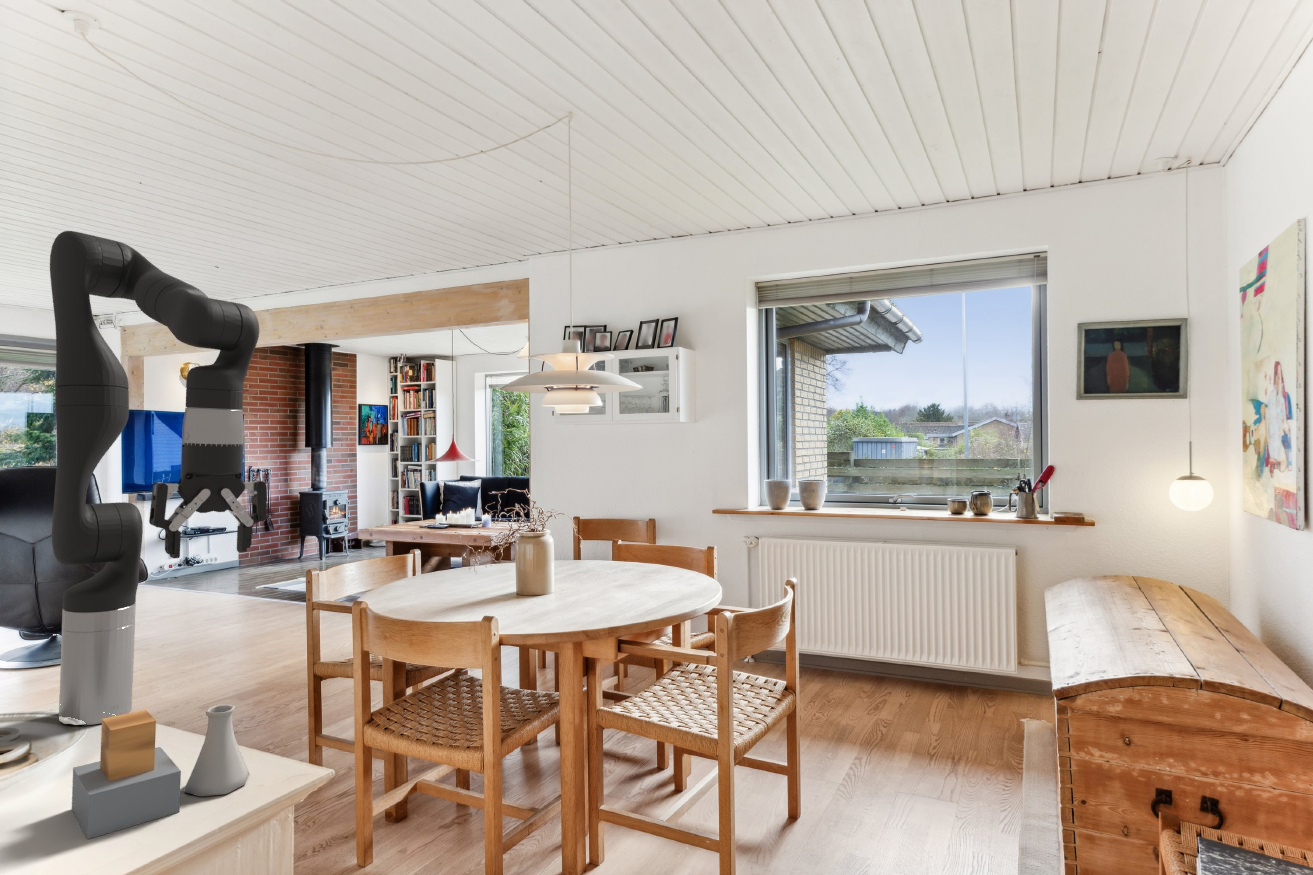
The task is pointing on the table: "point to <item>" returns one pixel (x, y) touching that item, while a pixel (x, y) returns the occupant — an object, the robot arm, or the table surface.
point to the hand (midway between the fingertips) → (208, 554)
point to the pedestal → (124, 796)
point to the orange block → (127, 745)
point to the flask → (218, 757)
